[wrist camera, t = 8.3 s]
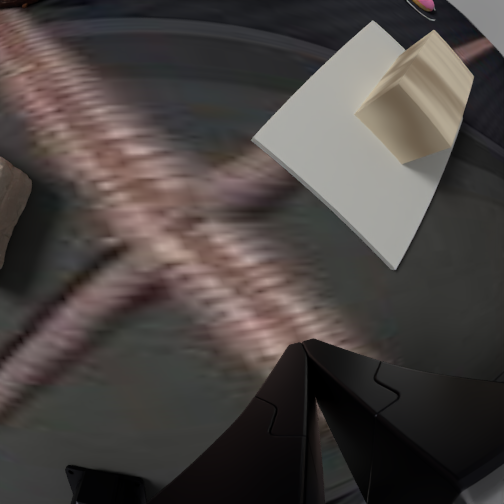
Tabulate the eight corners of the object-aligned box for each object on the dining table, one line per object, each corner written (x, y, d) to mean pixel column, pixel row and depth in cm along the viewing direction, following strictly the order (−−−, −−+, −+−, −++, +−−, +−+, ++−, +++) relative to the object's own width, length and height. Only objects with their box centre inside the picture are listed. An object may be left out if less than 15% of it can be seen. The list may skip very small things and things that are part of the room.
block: (451, 147, 16) (473, 76, 17) (398, 84, 15) (434, 29, 16) (401, 164, 21) (436, 95, 22) (354, 114, 20) (399, 55, 21)
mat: (390, 269, 21) (395, 269, 21) (250, 140, 19) (253, 137, 18) (459, 119, 24) (463, 117, 24) (369, 23, 21) (372, 20, 21)
